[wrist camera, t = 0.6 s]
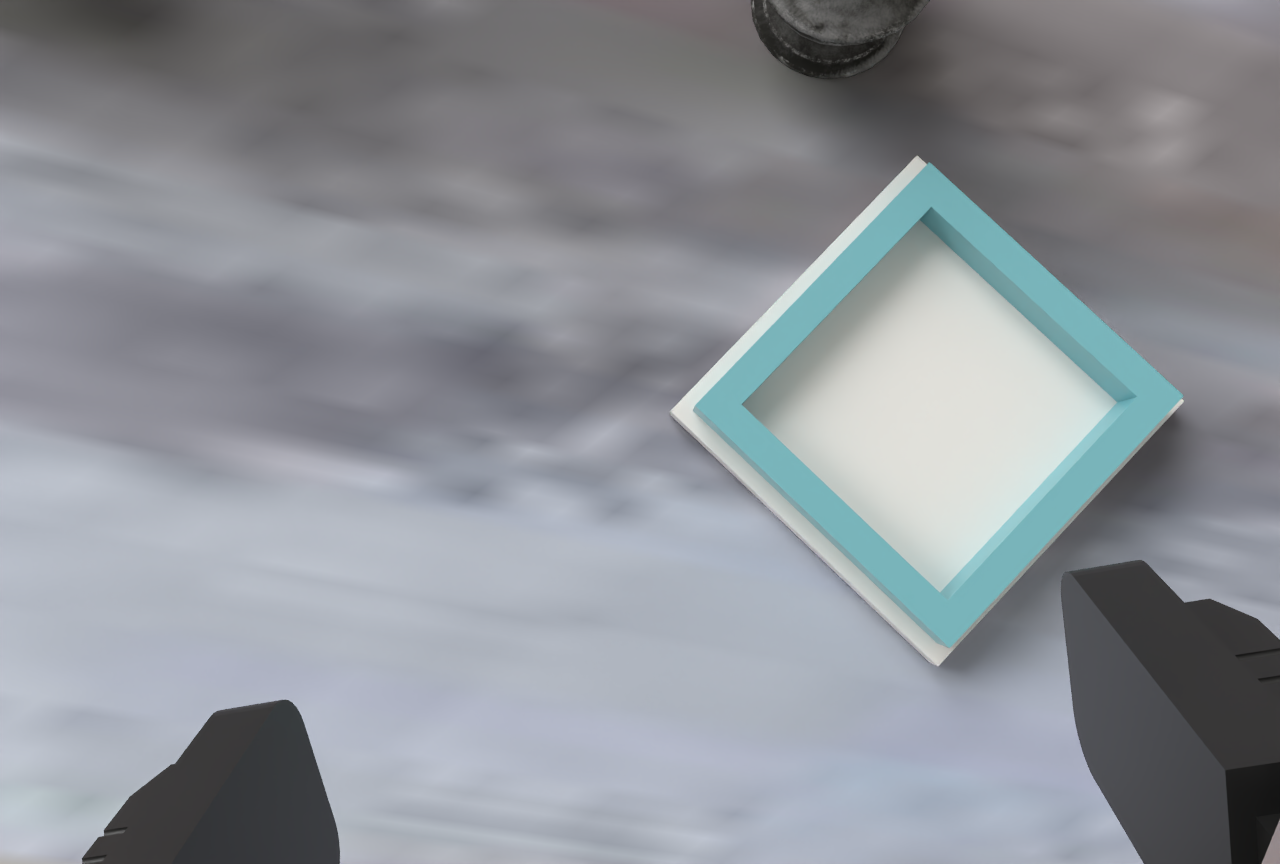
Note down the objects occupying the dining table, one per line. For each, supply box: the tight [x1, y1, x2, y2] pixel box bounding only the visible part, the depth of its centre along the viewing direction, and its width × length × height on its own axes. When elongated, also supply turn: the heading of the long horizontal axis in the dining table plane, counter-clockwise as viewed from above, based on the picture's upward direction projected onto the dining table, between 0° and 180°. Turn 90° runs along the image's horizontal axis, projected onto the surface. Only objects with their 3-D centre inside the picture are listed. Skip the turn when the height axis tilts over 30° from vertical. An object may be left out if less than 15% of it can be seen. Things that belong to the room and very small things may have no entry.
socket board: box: [670, 156, 1184, 666], centre depth 37 cm, size 12×12×2 cm
